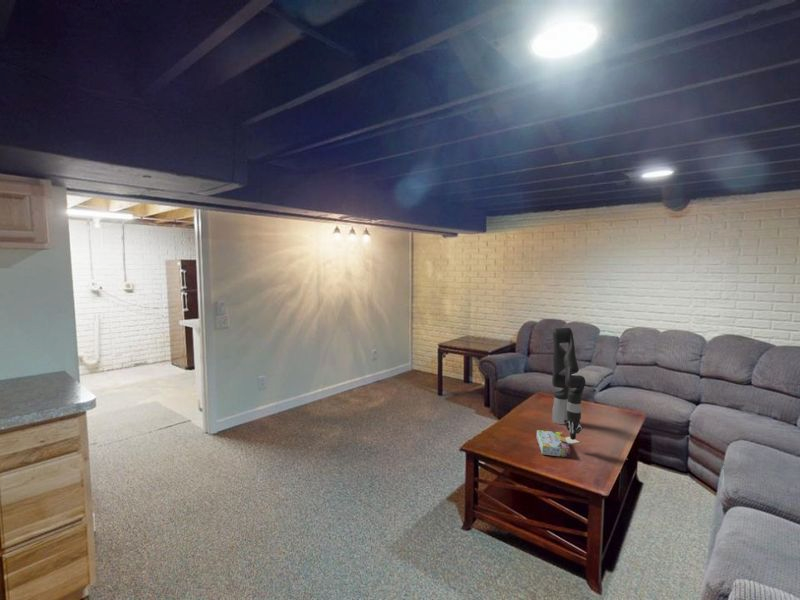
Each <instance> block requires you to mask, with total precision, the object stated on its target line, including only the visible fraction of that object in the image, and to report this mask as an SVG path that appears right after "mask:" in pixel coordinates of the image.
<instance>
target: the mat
mask: <svg viewBox="0 0 800 600" xmlns="http://www.w3.org/2000/svg"><path fill="white" fill-rule="evenodd" d="M564 437H565V436H564ZM565 439H566V441H567V443H568V445H569V446H570V445H573V444H579V443H581V442H580V441H579V440H577V439H575V440H572V439H570V436H566V437H565Z"/></svg>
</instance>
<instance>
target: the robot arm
mask: <svg viewBox="0 0 800 600" xmlns="http://www.w3.org/2000/svg"><path fill="white" fill-rule="evenodd" d="M552 340H553V355H552V362H553V363H552V365H553V366H552V367H553V368H552V369H553V370H552V378H551V384H552V386H553V387H554V388H559V389H561V390H558V391H555V392H554V393H553V406H552V411H551V421H552V422H553V423H555V424H557V425H565V427H566V429H567V430H568V431H569V437H570V439H572V440H577V439H576V438H577V434H579V433H581V432H582V430H583V429H584V427H583V426H581V422H580V421H581V419H582V395H583V392H584V389H585V386H586V379H585V377H584V376H583V375H574V374H577V373H579V365H578V361H577V357H576V350H575V348H576V347H575V339H574V333H573V330H572V329H571V327H560V328H559V327H558V328H555V329H553V331H552ZM566 343H568V347H567V350H565V349H564V347H562V346H561V344H566ZM564 369H565V374H564V373H563V374H562V373H561V372H562V371H564ZM569 389H574V390H571V391H569Z"/></svg>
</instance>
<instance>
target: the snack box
mask: <svg viewBox="0 0 800 600" xmlns="http://www.w3.org/2000/svg"><path fill="white" fill-rule="evenodd" d="M536 440H537V443H538V446H539V449H540V452H541V455H545V456H553V457H554V456H555V457H564V458H571V447H570V444H569V445H568V443H567V441H566V439H565V435H564V433H563V432H560V431H549V430H541V429H537V430H536Z"/></svg>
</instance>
